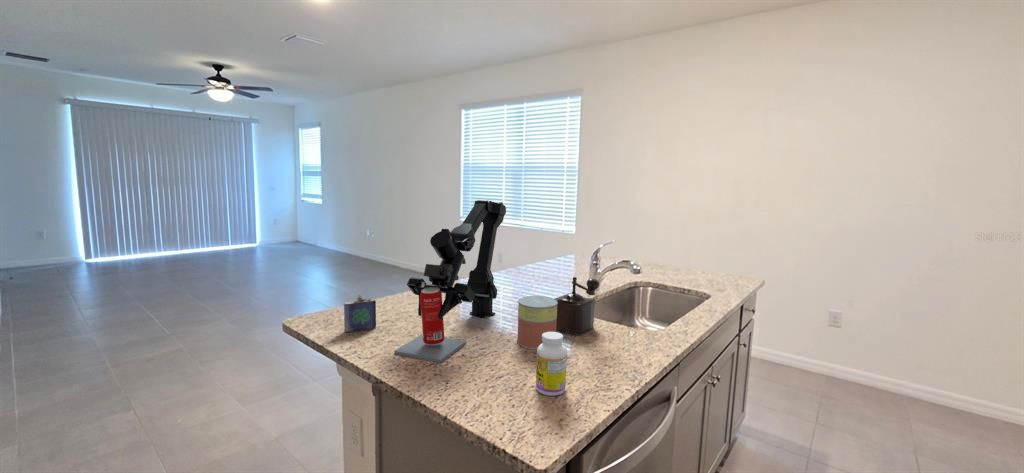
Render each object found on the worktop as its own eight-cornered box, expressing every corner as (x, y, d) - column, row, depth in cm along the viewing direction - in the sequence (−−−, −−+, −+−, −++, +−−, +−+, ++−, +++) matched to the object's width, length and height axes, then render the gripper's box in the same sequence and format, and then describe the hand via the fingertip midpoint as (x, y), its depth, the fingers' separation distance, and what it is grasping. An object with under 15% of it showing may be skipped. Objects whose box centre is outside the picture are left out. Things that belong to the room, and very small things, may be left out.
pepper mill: (547, 329, 140) (550, 272, 137) (566, 320, 148) (568, 267, 146) (592, 341, 130) (595, 281, 128) (609, 331, 139) (612, 275, 136)
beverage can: (448, 340, 123) (448, 288, 121) (433, 348, 118) (432, 293, 115) (432, 336, 126) (431, 284, 124) (416, 343, 121) (415, 290, 118)
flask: (345, 333, 131) (344, 298, 130) (343, 330, 134) (342, 295, 132) (377, 329, 136) (376, 294, 135) (374, 326, 138) (374, 292, 137)
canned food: (564, 341, 129) (565, 301, 128) (539, 352, 121) (540, 309, 119) (534, 331, 137) (535, 293, 135) (509, 341, 129) (510, 300, 127)
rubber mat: (423, 336, 131) (423, 333, 131) (466, 343, 126) (466, 341, 126) (394, 353, 118) (394, 350, 118) (440, 362, 113) (440, 359, 113)
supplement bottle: (533, 383, 103) (535, 329, 102) (562, 382, 104) (564, 329, 102) (537, 397, 97) (539, 340, 95) (568, 396, 97) (570, 340, 96)
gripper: (409, 249, 125) (386, 297, 117) (469, 255, 119) (449, 306, 110) (425, 270, 134) (404, 317, 125) (481, 277, 127) (463, 327, 118)
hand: (429, 316), depth 119 cm, fingers closed on beverage can, 6 cm apart
